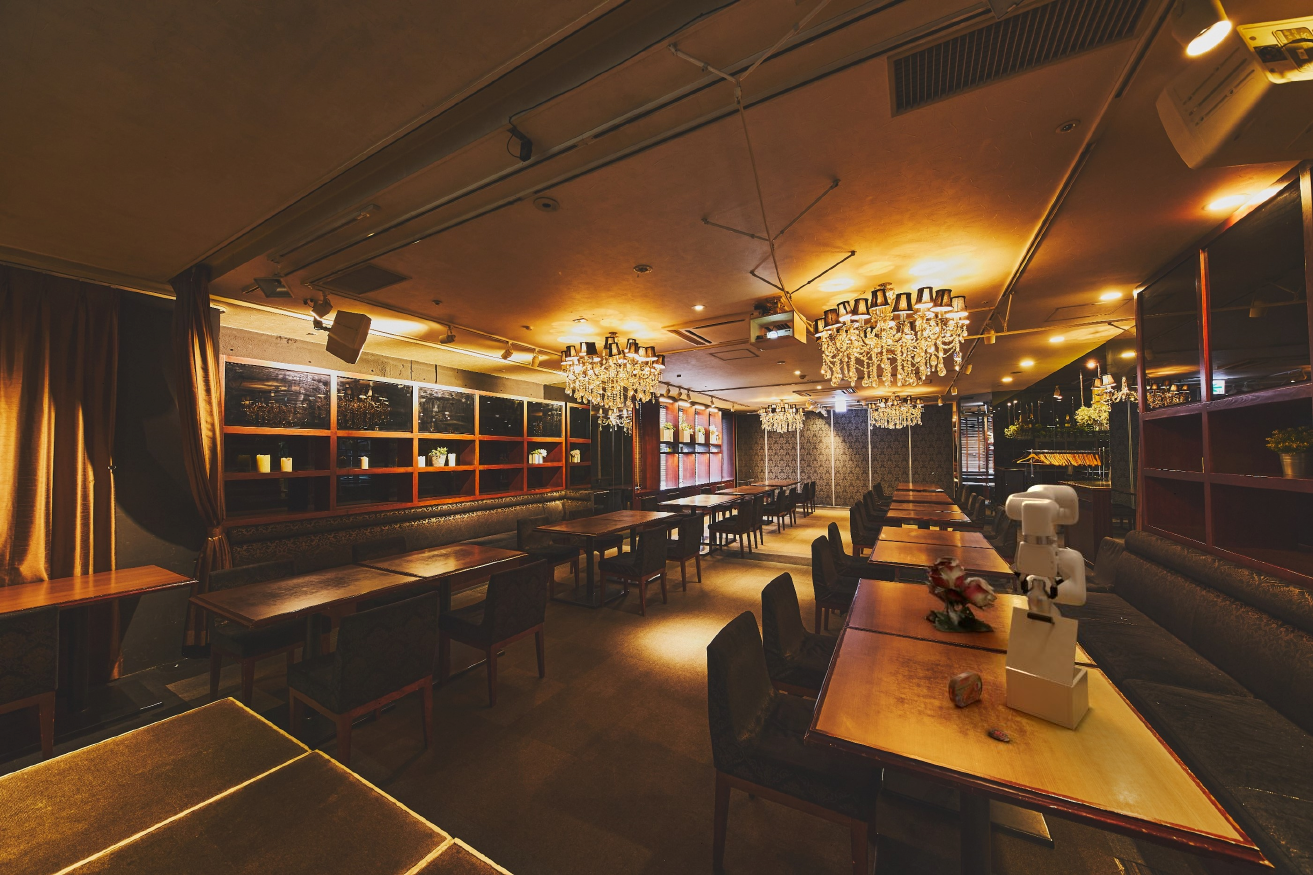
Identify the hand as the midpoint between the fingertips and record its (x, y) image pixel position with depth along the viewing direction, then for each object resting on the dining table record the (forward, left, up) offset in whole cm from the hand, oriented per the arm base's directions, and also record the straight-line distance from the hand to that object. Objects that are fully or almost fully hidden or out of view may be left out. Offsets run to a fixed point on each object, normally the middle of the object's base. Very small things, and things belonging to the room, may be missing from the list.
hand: (1039, 595), depth 150 cm
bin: (+4, +2, -33) cm, 34 cm away
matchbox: (+33, -2, -34) cm, 47 cm away
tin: (+20, -15, -34) cm, 42 cm away
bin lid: (+8, +2, -13) cm, 15 cm away
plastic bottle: (0, 0, -15) cm, 15 cm away
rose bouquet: (-53, -45, -34) cm, 77 cm away
